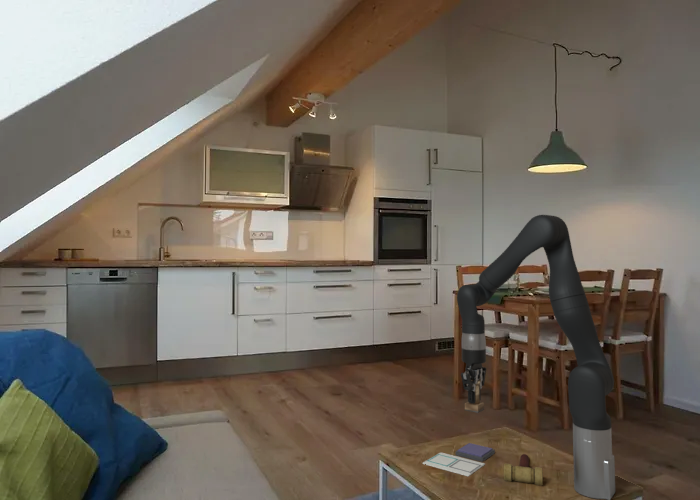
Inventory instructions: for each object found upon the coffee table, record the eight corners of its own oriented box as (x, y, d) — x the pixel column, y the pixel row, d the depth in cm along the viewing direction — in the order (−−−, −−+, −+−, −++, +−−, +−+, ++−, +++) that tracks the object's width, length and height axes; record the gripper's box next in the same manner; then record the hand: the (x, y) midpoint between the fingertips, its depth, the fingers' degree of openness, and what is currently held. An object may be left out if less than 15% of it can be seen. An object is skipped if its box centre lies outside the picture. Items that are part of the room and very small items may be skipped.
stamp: (484, 409, 160) (483, 380, 160) (478, 412, 157) (477, 383, 157) (471, 407, 163) (470, 378, 163) (464, 410, 159) (464, 381, 160)
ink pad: (494, 453, 160) (494, 448, 160) (482, 461, 153) (482, 456, 153) (468, 447, 166) (468, 442, 166) (455, 455, 159) (455, 449, 159)
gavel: (508, 446, 158) (542, 449, 155) (508, 461, 158) (542, 465, 154) (503, 466, 139) (542, 470, 135) (503, 483, 138) (542, 488, 135)
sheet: (485, 464, 151) (484, 463, 151) (468, 476, 142) (468, 475, 142) (440, 453, 160) (440, 452, 160) (422, 463, 152) (422, 462, 152)
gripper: (474, 351, 153) (475, 408, 152) (494, 345, 163) (494, 399, 163) (452, 348, 157) (453, 404, 157) (472, 343, 168) (473, 395, 168)
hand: (474, 401), depth 160 cm, fingers closed on stamp, 3 cm apart
